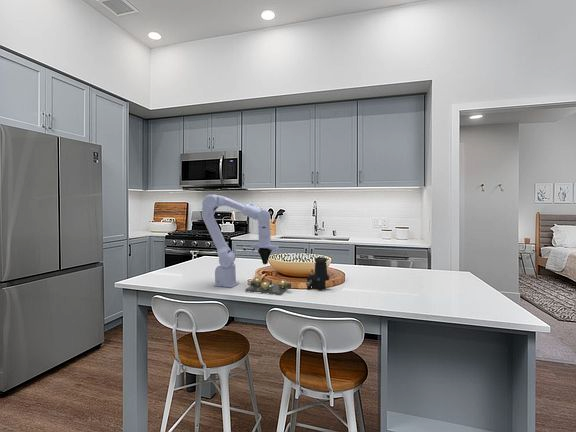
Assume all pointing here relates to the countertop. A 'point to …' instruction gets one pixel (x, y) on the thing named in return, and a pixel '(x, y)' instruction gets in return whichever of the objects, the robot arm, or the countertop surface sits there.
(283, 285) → the foot screw
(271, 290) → the leveling base
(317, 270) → the scope
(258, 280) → the foot screw
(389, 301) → the countertop surface
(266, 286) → the footscrew right
